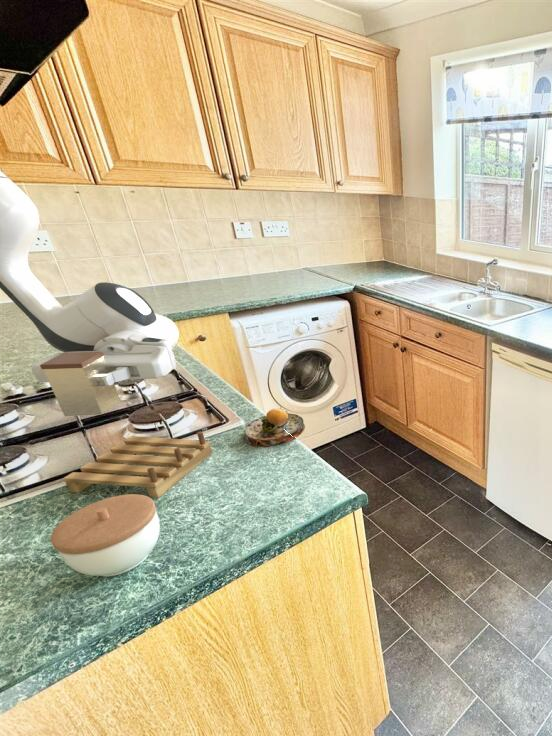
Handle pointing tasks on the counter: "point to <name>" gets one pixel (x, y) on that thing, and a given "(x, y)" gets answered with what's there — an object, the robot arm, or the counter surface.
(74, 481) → the rack
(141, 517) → the trinket box
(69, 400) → the tea tin
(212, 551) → the counter surface
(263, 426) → the open sandwich
